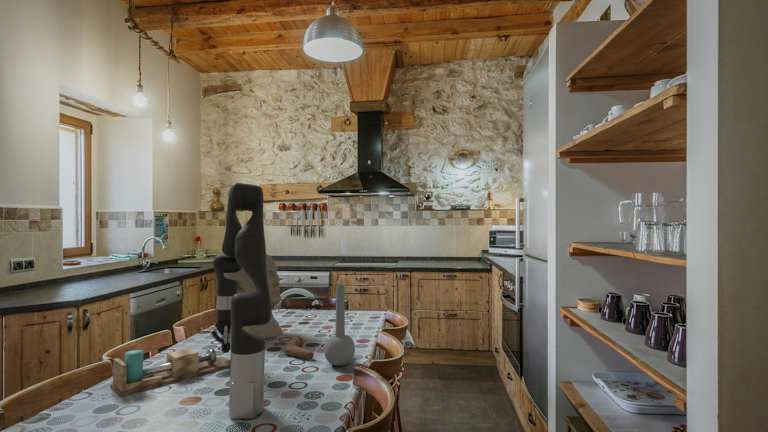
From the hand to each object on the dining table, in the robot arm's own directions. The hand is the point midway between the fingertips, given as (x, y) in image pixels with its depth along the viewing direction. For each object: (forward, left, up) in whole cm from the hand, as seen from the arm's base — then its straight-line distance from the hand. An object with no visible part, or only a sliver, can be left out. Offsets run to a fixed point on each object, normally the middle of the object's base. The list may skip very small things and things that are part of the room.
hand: (225, 352), depth 151 cm
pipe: (+9, -27, -4) cm, 29 cm away
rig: (-13, +12, -4) cm, 18 cm away
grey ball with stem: (0, -43, -4) cm, 43 cm away
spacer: (-22, +22, -3) cm, 31 cm away
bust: (+41, +2, -4) cm, 41 cm away
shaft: (-12, +12, -3) cm, 17 cm away
